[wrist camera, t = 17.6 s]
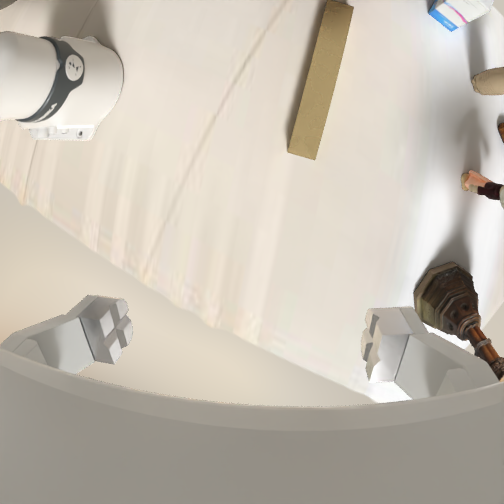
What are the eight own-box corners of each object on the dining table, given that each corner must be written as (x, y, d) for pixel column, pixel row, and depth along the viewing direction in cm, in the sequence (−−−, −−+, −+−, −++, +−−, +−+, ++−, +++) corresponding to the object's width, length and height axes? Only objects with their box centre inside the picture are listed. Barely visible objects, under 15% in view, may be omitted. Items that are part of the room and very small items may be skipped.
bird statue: (373, 307, 46) (436, 514, 14) (416, 238, 41) (561, 416, 9) (439, 337, 47) (512, 496, 14) (479, 279, 42) (593, 421, 9)
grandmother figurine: (485, 167, 36) (535, 181, 24) (486, 191, 37) (535, 210, 25) (448, 171, 37) (496, 185, 25) (450, 196, 38) (497, 217, 26)
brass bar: (327, -1, 28) (324, 9, 31) (287, 152, 36) (287, 151, 40) (353, 6, 28) (349, 16, 31) (315, 160, 36) (312, 158, 40)
